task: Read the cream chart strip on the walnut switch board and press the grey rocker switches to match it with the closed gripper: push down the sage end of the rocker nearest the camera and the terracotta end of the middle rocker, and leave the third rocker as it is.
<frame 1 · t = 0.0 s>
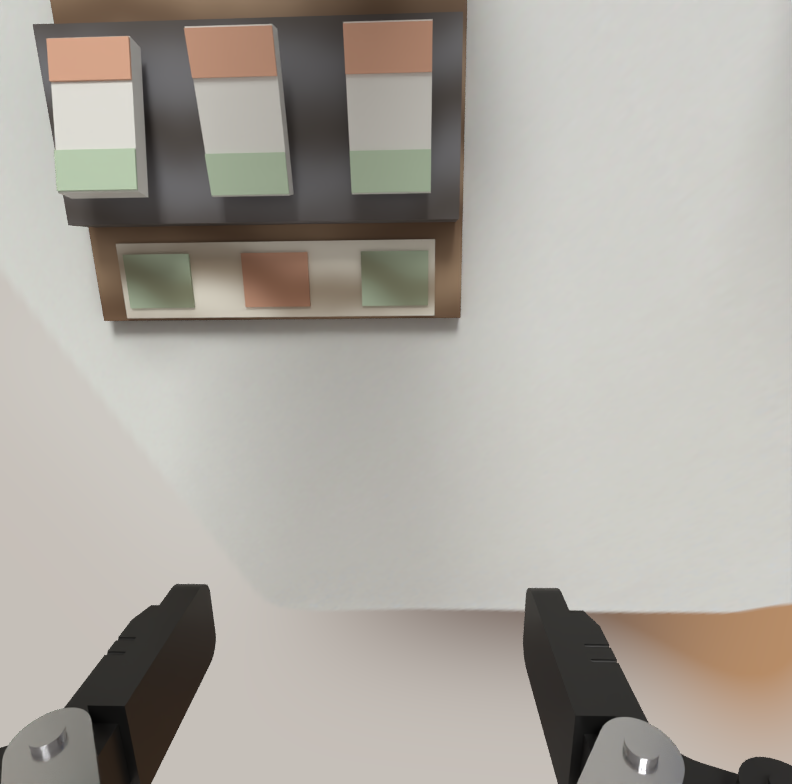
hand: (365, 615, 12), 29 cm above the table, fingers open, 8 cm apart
switch A: (99, 119, 31), point 6 cm above the table, hinge at -10.0°
switch unit: (271, 139, 37), on the table
switch B: (243, 116, 30), point 6 cm above the table, hinge at 10.0°
switch C: (389, 113, 30), point 6 cm above the table, hinge at 10.0°
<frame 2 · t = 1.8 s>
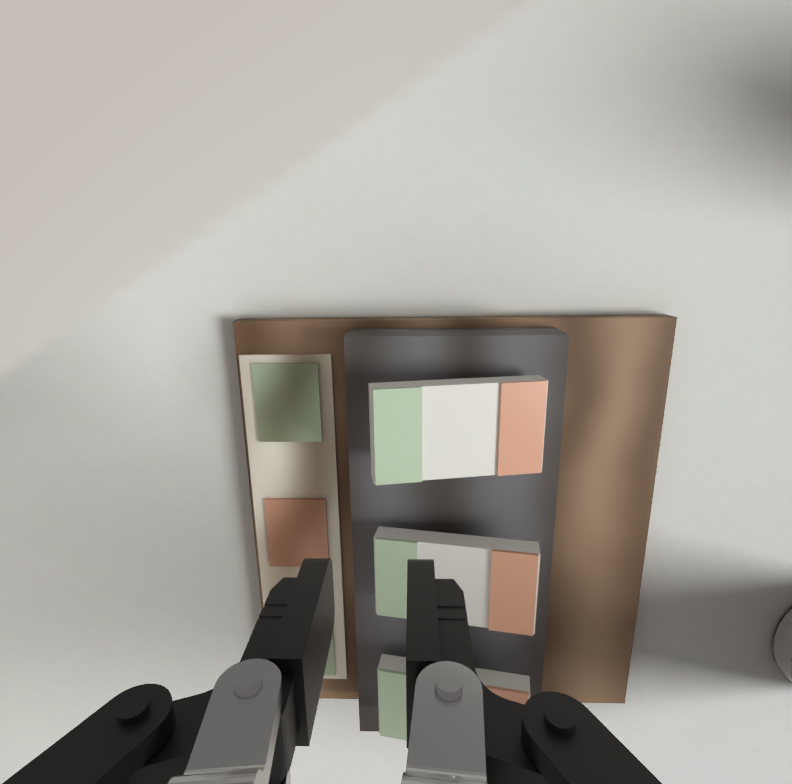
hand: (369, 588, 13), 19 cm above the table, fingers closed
switch A: (457, 428, 26), point 6 cm above the table, hinge at -10.0°
switch unit: (447, 521, 34), on the table
switch B: (454, 579, 28), point 6 cm above the table, hinge at 10.0°
switch C: (451, 706, 30), point 6 cm above the table, hinge at 10.0°
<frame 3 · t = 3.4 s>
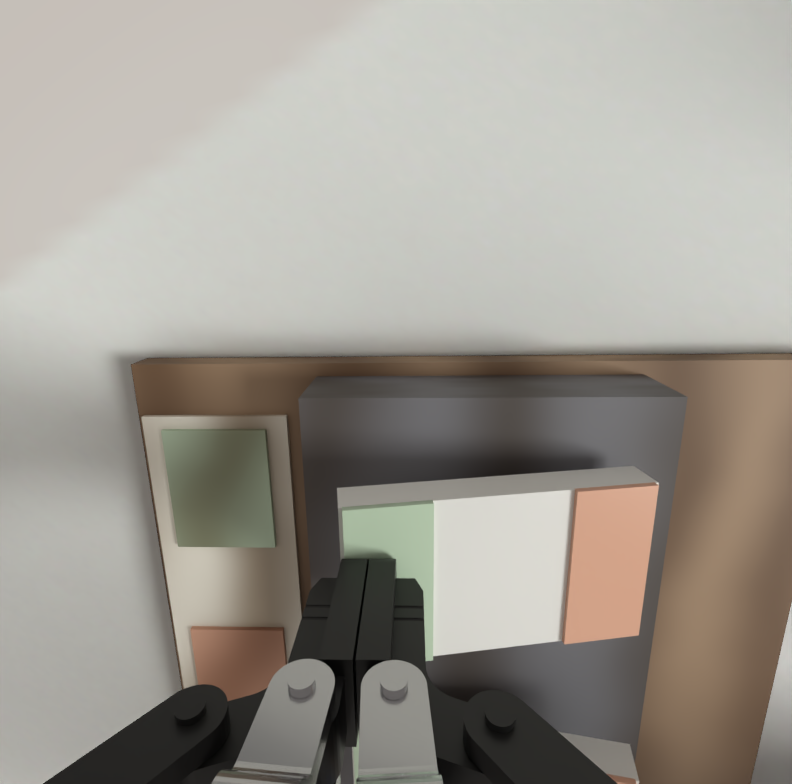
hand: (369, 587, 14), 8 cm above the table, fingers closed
switch A: (495, 564, 15), point 6 cm above the table, hinge at -10.0°, touching gripper
switch unit: (466, 653, 23), on the table
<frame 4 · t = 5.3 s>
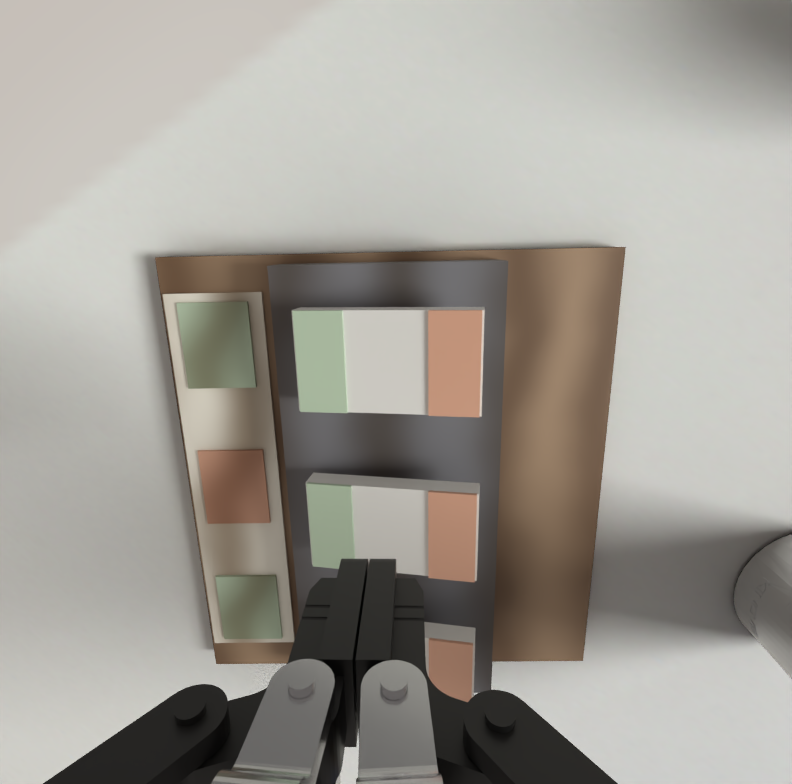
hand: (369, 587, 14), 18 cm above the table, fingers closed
switch A: (388, 360, 24), point 6 cm above the table, hinge at 8.5°
switch unit: (394, 474, 33), on the table
switch B: (392, 526, 27), point 6 cm above the table, hinge at 10.0°
switch C: (396, 662, 29), point 6 cm above the table, hinge at 10.0°
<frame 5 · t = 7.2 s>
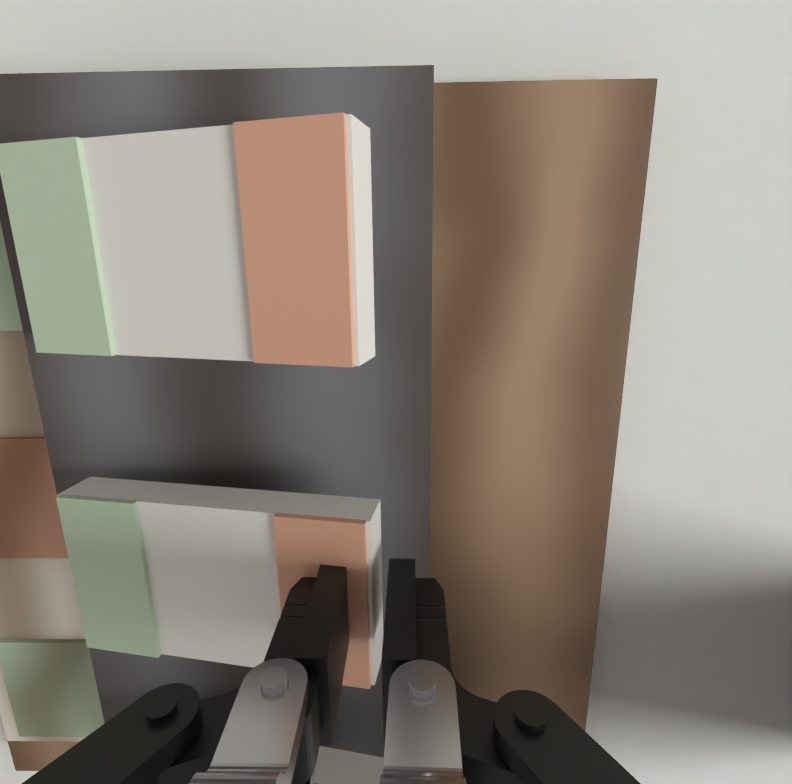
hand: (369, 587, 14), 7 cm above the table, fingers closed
switch A: (185, 251, 12), point 6 cm above the table, hinge at 14.0°
switch unit: (278, 482, 20), on the table
switch B: (223, 577, 14), point 6 cm above the table, hinge at 9.4°, touching gripper
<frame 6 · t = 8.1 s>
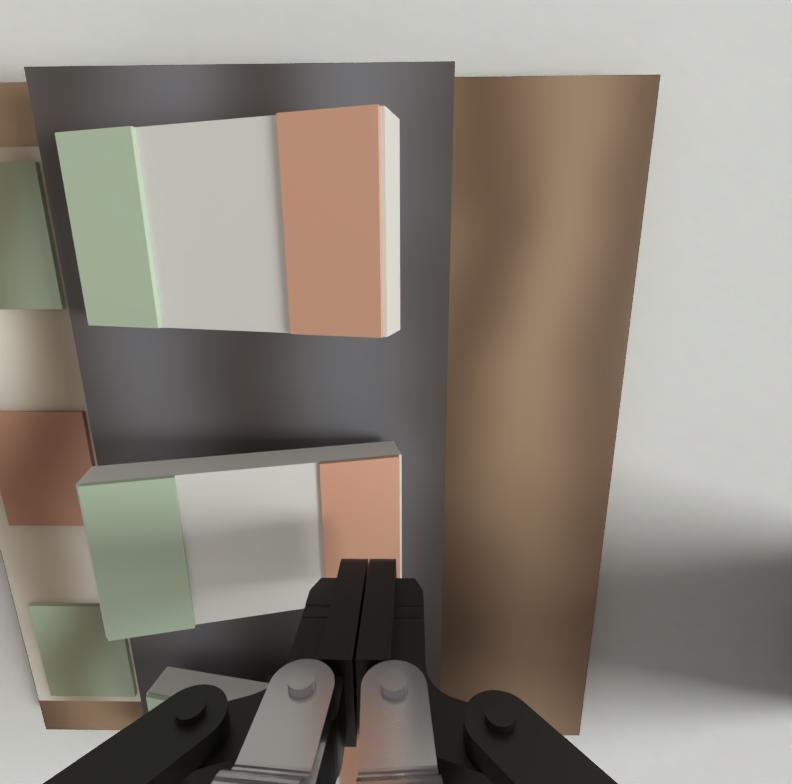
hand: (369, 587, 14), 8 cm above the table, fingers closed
switch A: (227, 232, 13), point 6 cm above the table, hinge at 15.0°
switch unit: (298, 455, 22), on the table
switch B: (257, 535, 15), point 6 cm above the table, hinge at -13.2°
switch C: (276, 755, 18), point 6 cm above the table, hinge at 10.0°
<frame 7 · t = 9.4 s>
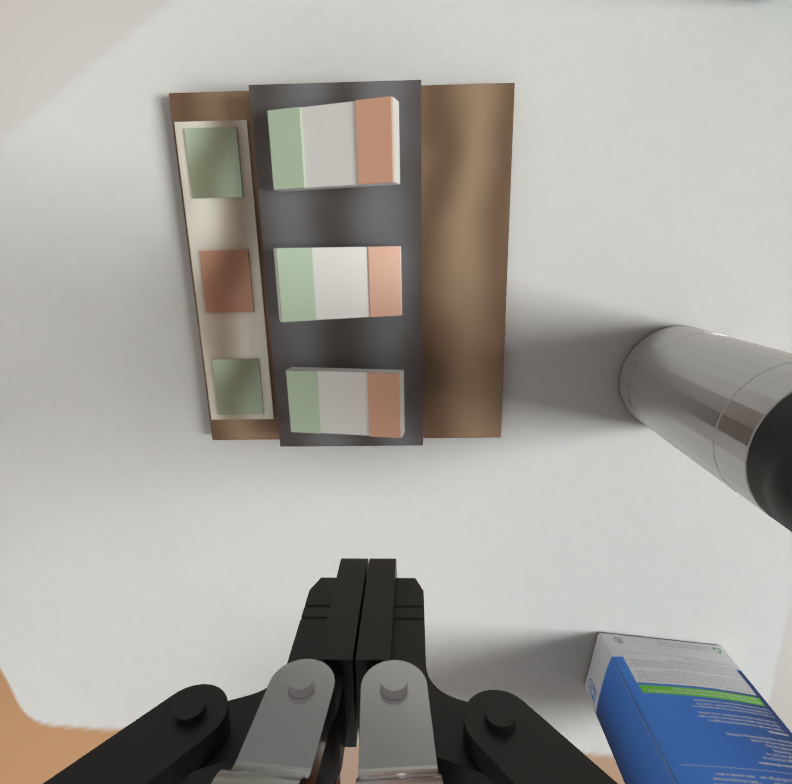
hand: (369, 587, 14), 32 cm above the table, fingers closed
switch A: (333, 147, 34), point 6 cm above the table, hinge at 15.7°
string lights box: (651, 663, 52), on the table
switch unit: (350, 278, 42), on the table
switch B: (340, 283, 36), point 6 cm above the table, hinge at -18.7°, touching switch unit
switch C: (345, 401, 39), point 6 cm above the table, hinge at 10.0°
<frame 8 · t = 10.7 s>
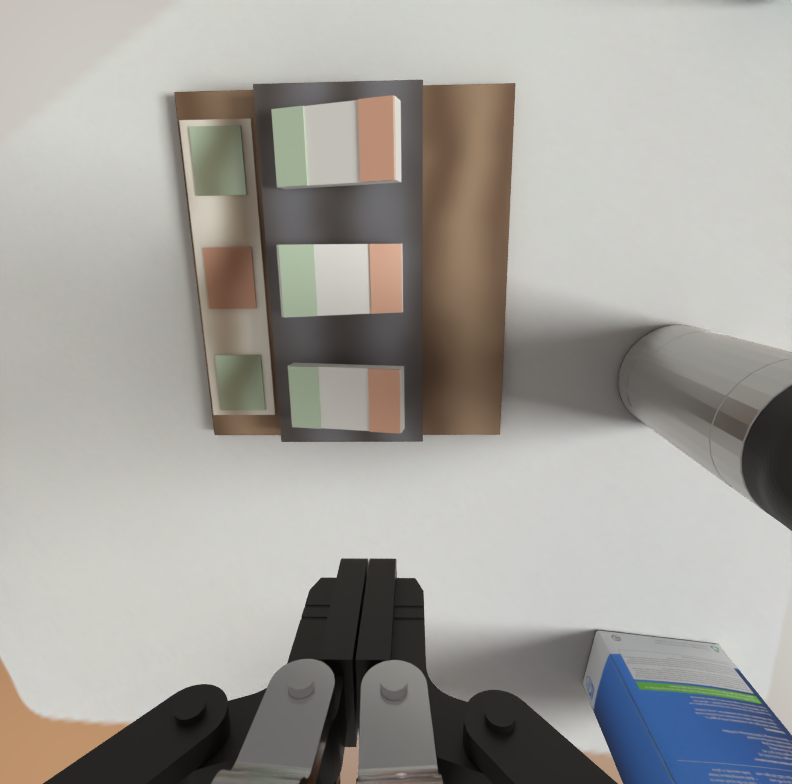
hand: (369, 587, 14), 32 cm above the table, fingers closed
switch A: (335, 145, 34), point 6 cm above the table, hinge at 16.1°
string lights box: (649, 661, 52), on the table
switch unit: (351, 276, 43), on the table
switch B: (341, 279, 37), point 6 cm above the table, hinge at -16.7°
switch C: (346, 397, 39), point 6 cm above the table, hinge at 10.0°
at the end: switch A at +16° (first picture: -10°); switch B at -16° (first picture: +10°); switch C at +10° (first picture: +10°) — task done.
